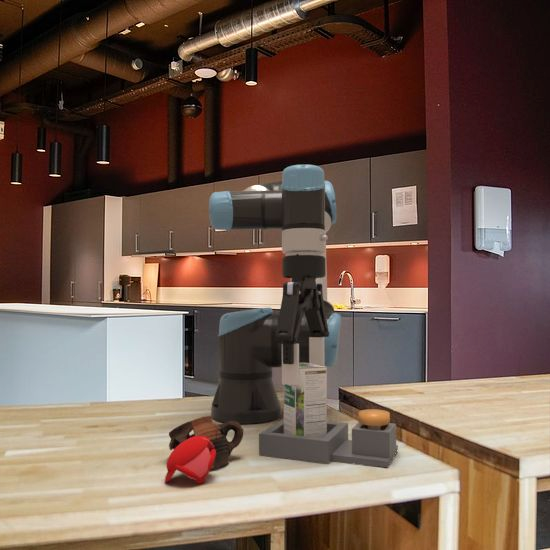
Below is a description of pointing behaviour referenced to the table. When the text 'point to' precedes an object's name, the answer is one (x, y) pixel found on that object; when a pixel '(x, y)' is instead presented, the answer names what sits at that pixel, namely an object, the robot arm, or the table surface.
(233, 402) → the robot arm
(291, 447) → the grey rectangular open-box piece
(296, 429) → the syrup box
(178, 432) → the pottery mug
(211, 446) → the cap
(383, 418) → the plunger
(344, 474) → the table surface
